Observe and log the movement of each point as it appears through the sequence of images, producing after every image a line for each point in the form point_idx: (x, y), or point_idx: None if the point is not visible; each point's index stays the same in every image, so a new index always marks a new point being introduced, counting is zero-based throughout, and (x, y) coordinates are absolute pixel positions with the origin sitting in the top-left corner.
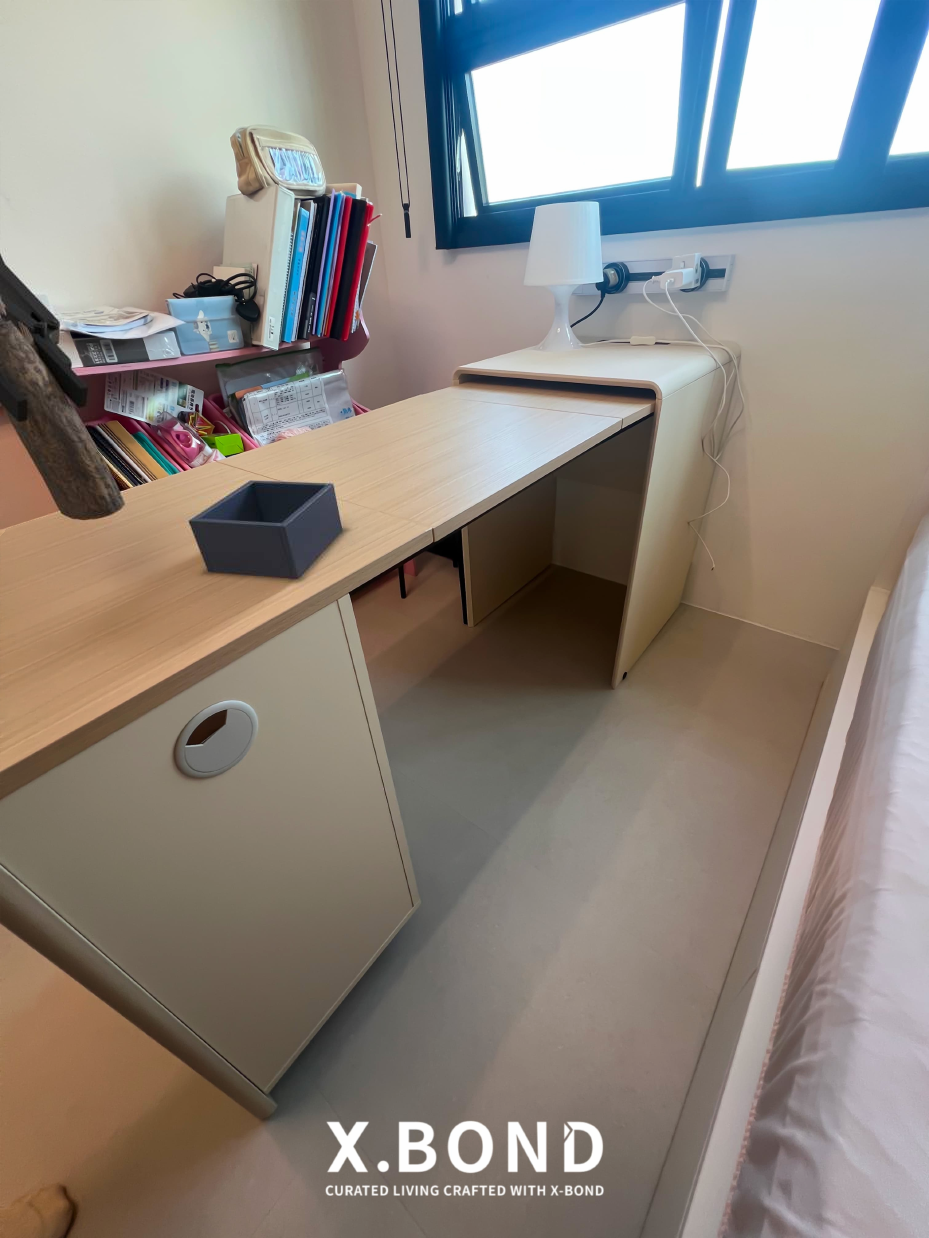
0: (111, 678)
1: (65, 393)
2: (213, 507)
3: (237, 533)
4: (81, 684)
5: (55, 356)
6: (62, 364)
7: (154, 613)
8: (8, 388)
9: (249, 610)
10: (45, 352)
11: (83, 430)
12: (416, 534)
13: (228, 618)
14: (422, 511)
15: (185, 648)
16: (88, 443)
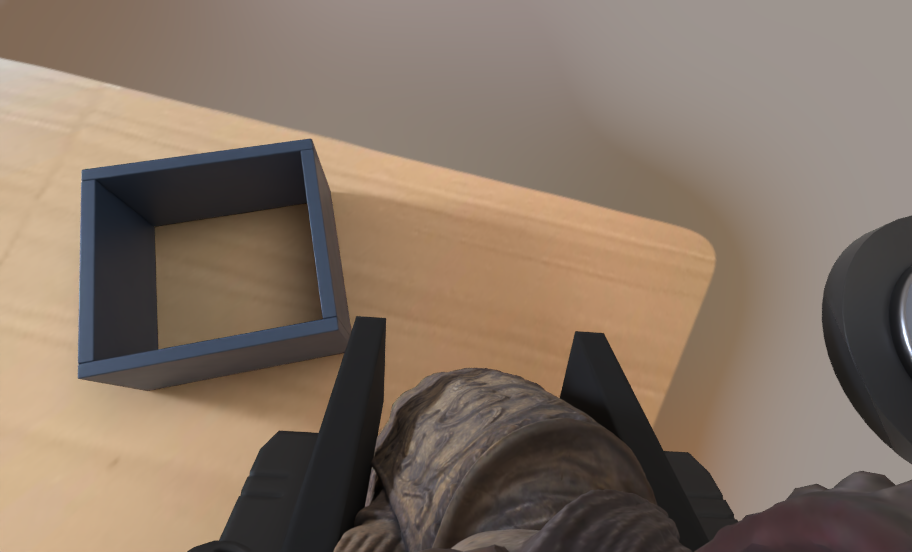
0: (605, 258)
1: (374, 449)
2: (263, 331)
3: (328, 237)
4: (629, 283)
5: (338, 425)
6: (350, 392)
7: (485, 330)
8: (612, 364)
9: (427, 203)
10: (355, 461)
11: (412, 392)
12: (137, 96)
13: (453, 216)
14: (30, 123)
15: (526, 220)
16: (424, 380)
